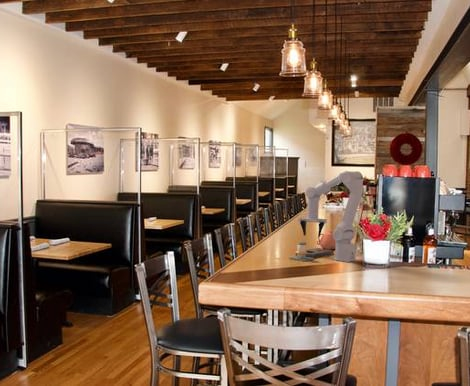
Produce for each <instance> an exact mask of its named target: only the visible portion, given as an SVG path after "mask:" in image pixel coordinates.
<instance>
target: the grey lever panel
mask: <svg viewBox="0 0 470 386" xmlns="http://www.w3.org/2000/svg"><path fill="white" fill-rule="evenodd" d="M306 251H307V254H306V255H305V257H309V258H314V259H315V258H321V257H326V255H327V256H331V254H332V255H335V250H334V249H325V248H322V247H314V248H309V249H306ZM295 256H297V254H296V253H295Z"/></svg>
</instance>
